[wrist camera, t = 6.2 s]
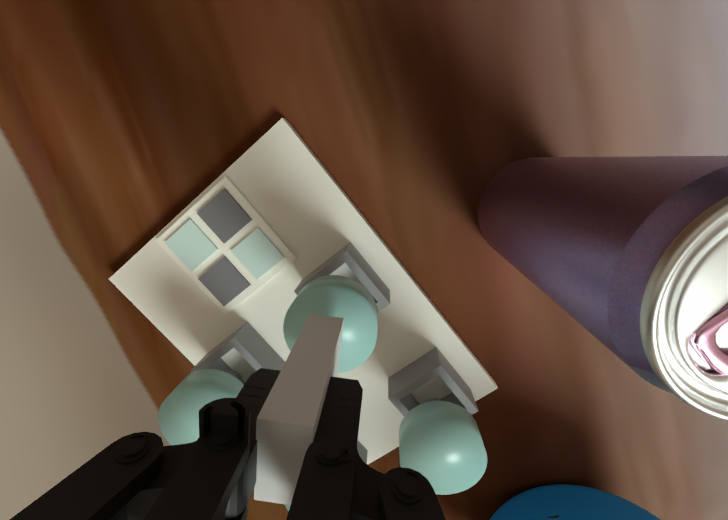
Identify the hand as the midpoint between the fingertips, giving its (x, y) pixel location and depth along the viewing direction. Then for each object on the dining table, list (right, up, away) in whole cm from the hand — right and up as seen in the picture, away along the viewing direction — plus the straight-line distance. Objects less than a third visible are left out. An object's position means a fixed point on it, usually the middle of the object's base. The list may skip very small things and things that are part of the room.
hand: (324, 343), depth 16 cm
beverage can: (+12, +7, +6) cm, 15 cm away
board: (-2, -1, +9) cm, 9 cm away
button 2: (-7, -4, +7) cm, 10 cm away
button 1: (0, +1, +5) cm, 5 cm away
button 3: (+6, -5, +6) cm, 10 cm away
